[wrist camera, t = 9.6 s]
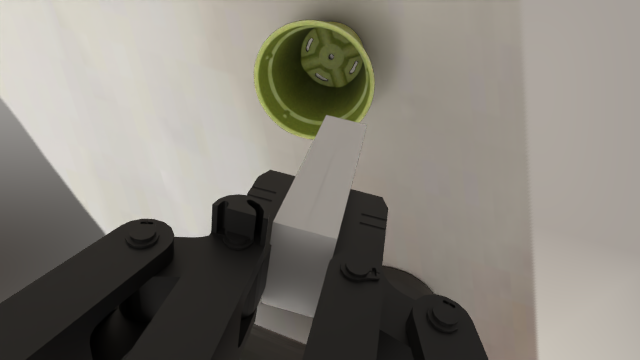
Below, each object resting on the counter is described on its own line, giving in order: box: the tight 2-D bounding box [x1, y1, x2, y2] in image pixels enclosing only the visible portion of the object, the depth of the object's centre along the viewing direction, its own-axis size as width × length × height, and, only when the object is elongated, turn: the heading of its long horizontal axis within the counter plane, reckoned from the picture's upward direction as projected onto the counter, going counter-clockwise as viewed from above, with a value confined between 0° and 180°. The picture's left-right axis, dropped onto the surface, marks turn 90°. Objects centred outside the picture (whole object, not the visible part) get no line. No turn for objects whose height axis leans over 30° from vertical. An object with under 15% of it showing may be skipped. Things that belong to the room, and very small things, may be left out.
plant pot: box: [254, 20, 375, 139], centre depth 36 cm, size 9×9×9 cm
